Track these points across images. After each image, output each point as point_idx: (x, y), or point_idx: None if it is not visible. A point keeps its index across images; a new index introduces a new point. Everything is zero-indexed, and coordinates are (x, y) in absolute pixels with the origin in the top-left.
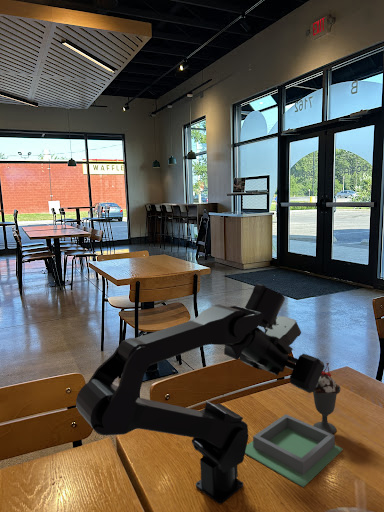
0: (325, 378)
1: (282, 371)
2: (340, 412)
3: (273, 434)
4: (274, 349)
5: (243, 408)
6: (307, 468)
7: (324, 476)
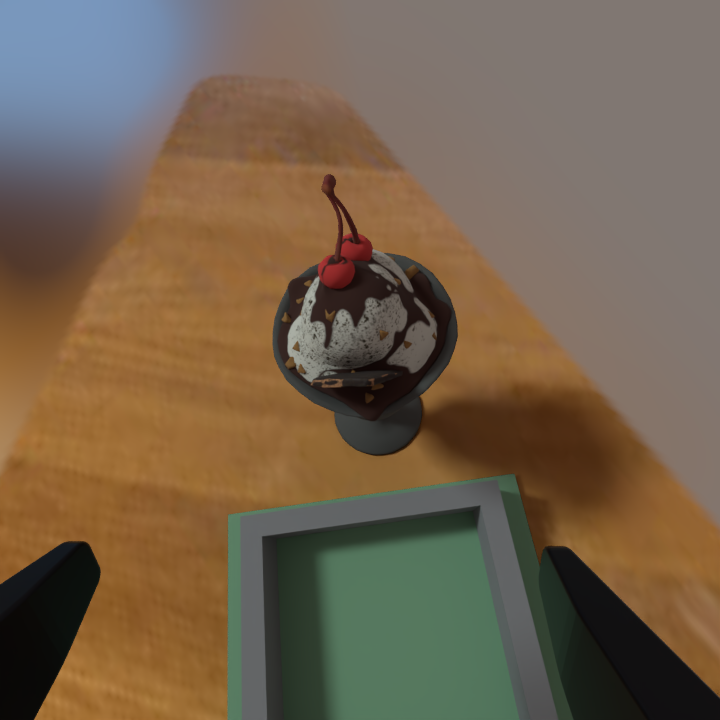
0: (380, 305)
1: (96, 581)
2: None
3: (277, 664)
4: None
5: None
6: None
7: None
